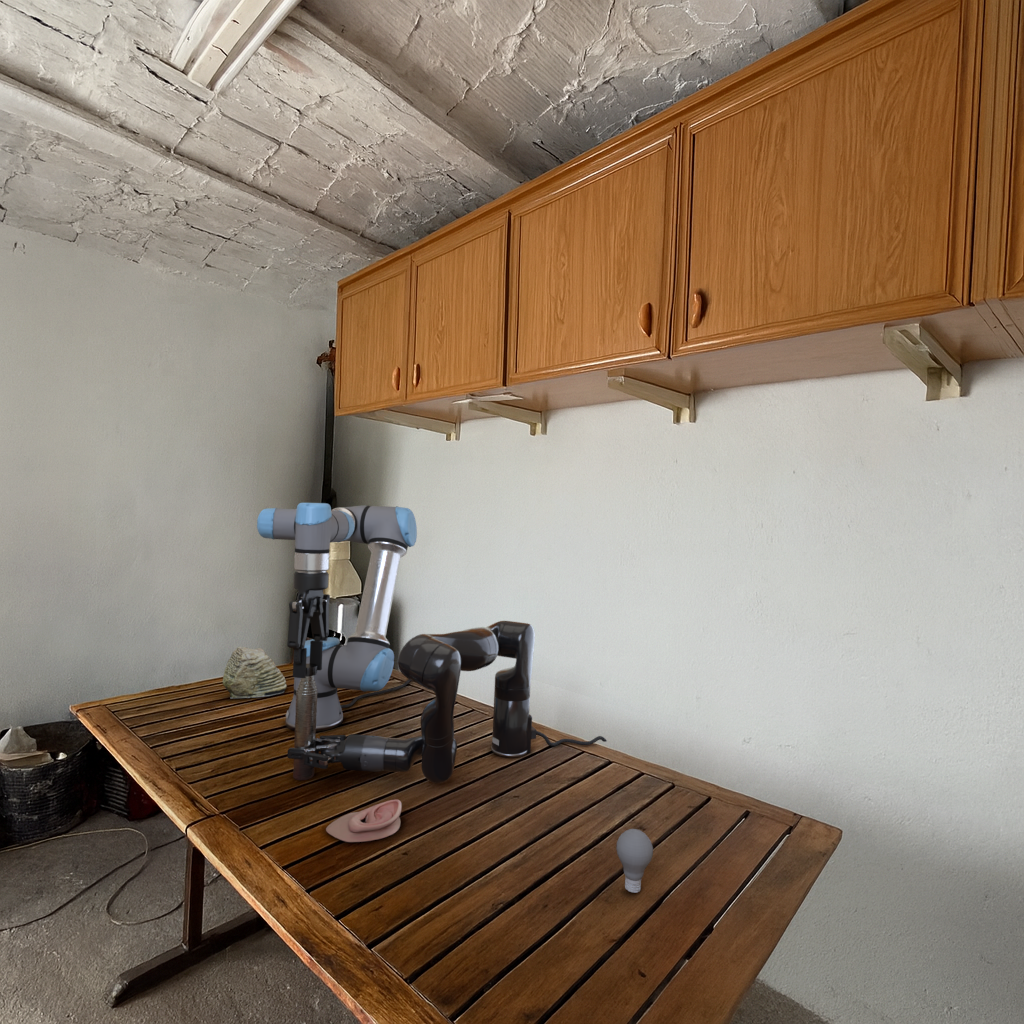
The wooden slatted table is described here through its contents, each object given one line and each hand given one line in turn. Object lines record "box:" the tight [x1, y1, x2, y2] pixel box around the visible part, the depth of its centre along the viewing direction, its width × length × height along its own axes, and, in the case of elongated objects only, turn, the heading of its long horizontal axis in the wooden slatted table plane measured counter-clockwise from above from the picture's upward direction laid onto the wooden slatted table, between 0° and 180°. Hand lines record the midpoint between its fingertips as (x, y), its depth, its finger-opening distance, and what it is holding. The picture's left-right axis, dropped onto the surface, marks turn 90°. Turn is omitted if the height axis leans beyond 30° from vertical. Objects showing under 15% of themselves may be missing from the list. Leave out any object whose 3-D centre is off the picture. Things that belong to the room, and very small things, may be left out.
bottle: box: [292, 676, 317, 781], centre depth 143 cm, size 4×4×24 cm
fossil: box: [222, 646, 288, 699], centre depth 198 cm, size 9×18×15 cm, turn 132°
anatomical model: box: [325, 799, 403, 843], centre depth 122 cm, size 13×4×12 cm
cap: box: [306, 663, 317, 676], centre depth 143 cm, size 4×4×2 cm
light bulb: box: [615, 828, 654, 894], centre depth 106 cm, size 6×6×10 cm
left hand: (307, 673), depth 143 cm, fingers open, 6 cm apart
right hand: (293, 748), depth 143 cm, fingers closed on bottle, 4 cm apart
